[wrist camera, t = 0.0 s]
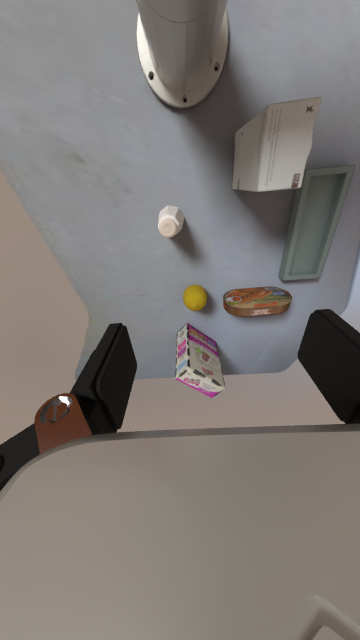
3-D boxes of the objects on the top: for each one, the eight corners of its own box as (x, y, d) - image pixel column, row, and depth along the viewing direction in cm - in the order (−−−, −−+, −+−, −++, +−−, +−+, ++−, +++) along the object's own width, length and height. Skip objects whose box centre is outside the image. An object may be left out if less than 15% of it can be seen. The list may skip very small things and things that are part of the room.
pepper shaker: (174, 239, 42) (172, 253, 33) (153, 223, 41) (144, 233, 32) (189, 216, 40) (191, 224, 31) (167, 198, 38) (162, 200, 29)
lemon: (179, 285, 48) (178, 300, 41) (200, 276, 47) (203, 290, 40) (188, 303, 51) (189, 320, 44) (208, 295, 49) (212, 311, 43)
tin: (282, 285, 48) (300, 301, 41) (280, 296, 50) (296, 314, 42) (220, 290, 49) (226, 306, 42) (220, 301, 50) (226, 319, 43)
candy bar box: (176, 333, 56) (173, 379, 43) (187, 322, 54) (188, 366, 40) (205, 351, 60) (211, 399, 46) (216, 341, 58) (227, 388, 44)
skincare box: (234, 132, 33) (265, 97, 21) (271, 128, 33) (325, 89, 20) (231, 192, 38) (255, 192, 25) (263, 189, 37) (304, 188, 25)
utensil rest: (299, 171, 36) (306, 169, 34) (345, 166, 35) (355, 164, 33) (278, 276, 47) (283, 280, 44) (313, 273, 46) (319, 277, 44)
